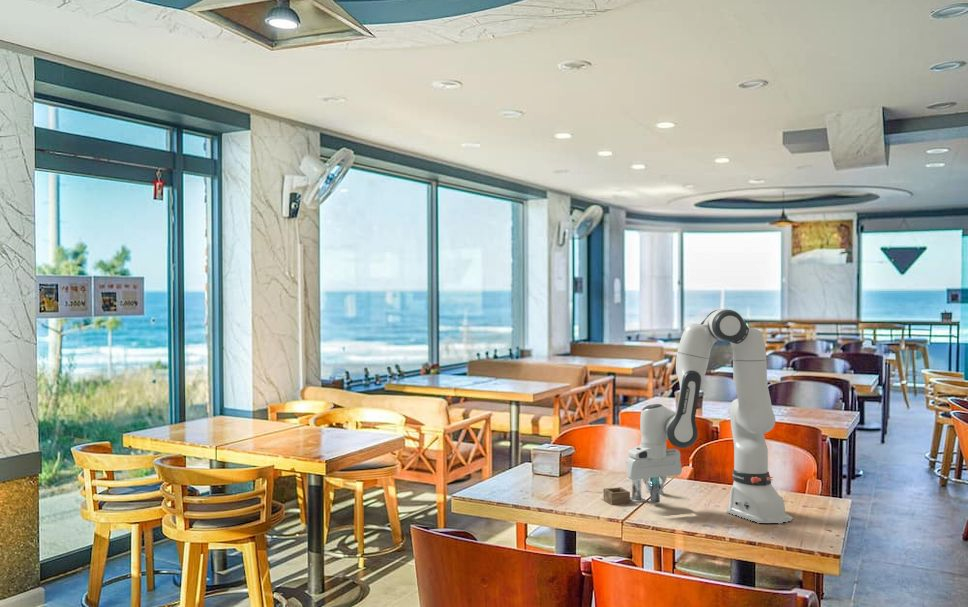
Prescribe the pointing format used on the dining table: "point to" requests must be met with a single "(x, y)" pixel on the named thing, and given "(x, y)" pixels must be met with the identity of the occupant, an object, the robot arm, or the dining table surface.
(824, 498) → the dining table surface
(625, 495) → the box
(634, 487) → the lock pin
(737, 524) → the dining table surface
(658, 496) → the small bottle
